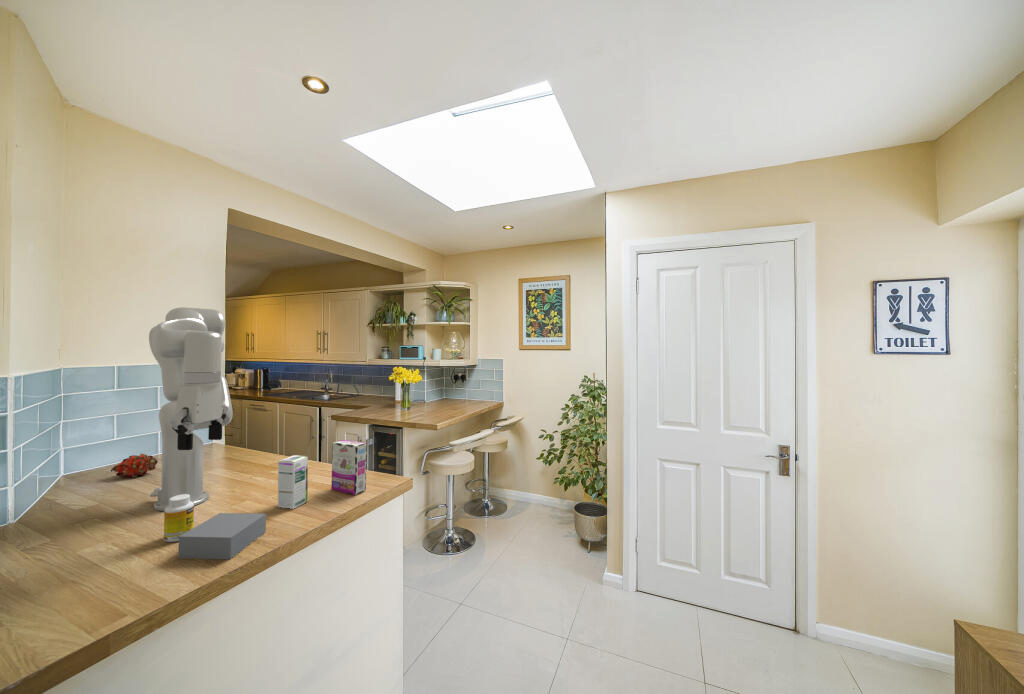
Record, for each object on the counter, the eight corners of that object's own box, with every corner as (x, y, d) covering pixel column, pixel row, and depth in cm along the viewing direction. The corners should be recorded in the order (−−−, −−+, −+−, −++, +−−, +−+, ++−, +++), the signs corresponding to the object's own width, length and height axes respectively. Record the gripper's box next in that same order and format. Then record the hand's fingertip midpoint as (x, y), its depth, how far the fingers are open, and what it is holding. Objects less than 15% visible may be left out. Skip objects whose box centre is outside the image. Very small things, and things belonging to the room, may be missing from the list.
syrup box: (293, 509, 110) (294, 461, 110) (276, 507, 111) (277, 459, 111) (307, 502, 115) (308, 456, 115) (291, 500, 116) (292, 454, 116)
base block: (178, 558, 84) (178, 536, 84) (219, 531, 96) (220, 512, 96) (230, 559, 84) (231, 537, 84) (265, 532, 96) (266, 513, 96)
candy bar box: (366, 490, 125) (367, 442, 125) (355, 495, 121) (356, 446, 121) (342, 485, 130) (343, 439, 130) (330, 490, 125) (331, 442, 125)
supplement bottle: (188, 540, 92) (189, 499, 92) (159, 545, 89) (160, 503, 89) (196, 530, 97) (197, 491, 97) (168, 534, 94) (169, 494, 94)
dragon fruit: (160, 476, 138) (114, 489, 130) (159, 459, 142) (114, 470, 134) (156, 462, 133) (108, 474, 125) (155, 445, 138) (108, 455, 130)
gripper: (213, 375, 104) (211, 436, 104) (156, 381, 86) (155, 454, 86) (240, 376, 104) (239, 436, 104) (189, 382, 87) (188, 454, 87)
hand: (200, 444), depth 95 cm, fingers open, 9 cm apart
